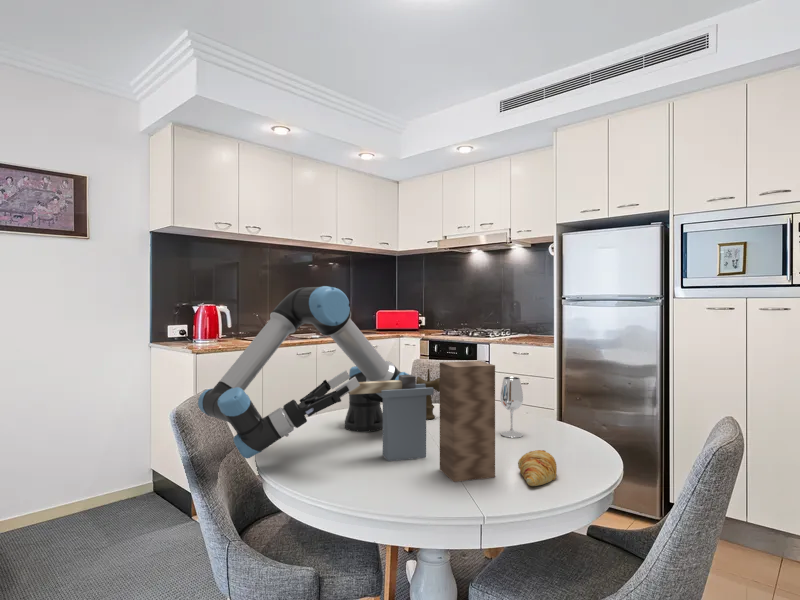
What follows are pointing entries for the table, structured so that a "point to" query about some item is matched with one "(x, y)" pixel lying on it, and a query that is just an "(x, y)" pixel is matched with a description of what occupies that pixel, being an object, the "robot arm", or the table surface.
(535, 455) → the croissant
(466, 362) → the walnut stand
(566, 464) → the table surface
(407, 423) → the rail stand
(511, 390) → the wineglass
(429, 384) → the kendama
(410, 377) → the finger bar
